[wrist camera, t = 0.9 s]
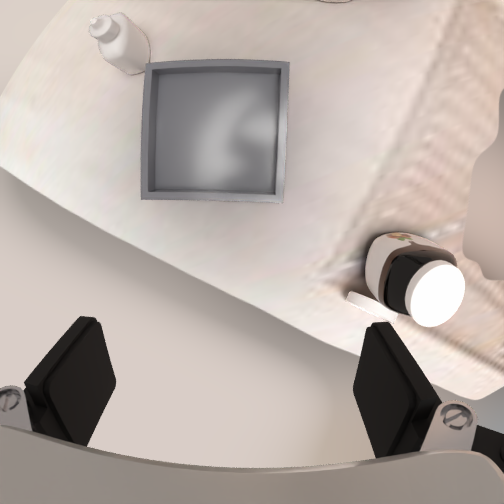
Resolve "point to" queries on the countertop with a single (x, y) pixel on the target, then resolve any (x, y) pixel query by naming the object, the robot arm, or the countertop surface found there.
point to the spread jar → (410, 280)
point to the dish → (214, 130)
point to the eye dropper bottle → (121, 42)
